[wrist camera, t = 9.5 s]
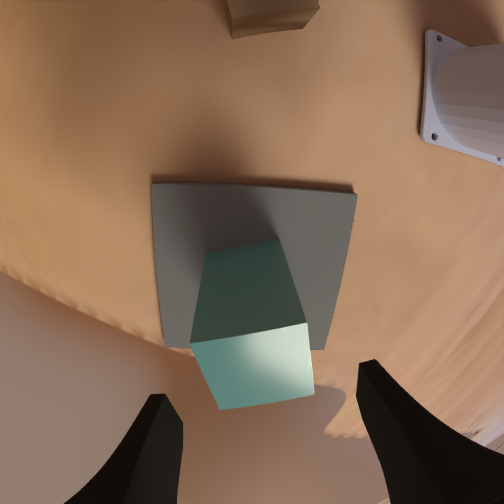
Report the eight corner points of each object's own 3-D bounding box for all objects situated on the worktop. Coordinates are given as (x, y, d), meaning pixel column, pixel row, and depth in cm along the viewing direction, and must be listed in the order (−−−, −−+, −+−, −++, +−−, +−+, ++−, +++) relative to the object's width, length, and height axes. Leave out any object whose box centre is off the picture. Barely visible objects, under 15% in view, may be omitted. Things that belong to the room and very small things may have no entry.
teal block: (279, 239, 18) (307, 322, 11) (289, 300, 20) (314, 394, 13) (205, 253, 18) (189, 343, 11) (223, 313, 20) (220, 409, 13)
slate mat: (354, 192, 18) (357, 195, 17) (322, 344, 23) (323, 349, 22) (153, 181, 17) (151, 184, 16) (166, 341, 22) (165, 346, 22)
